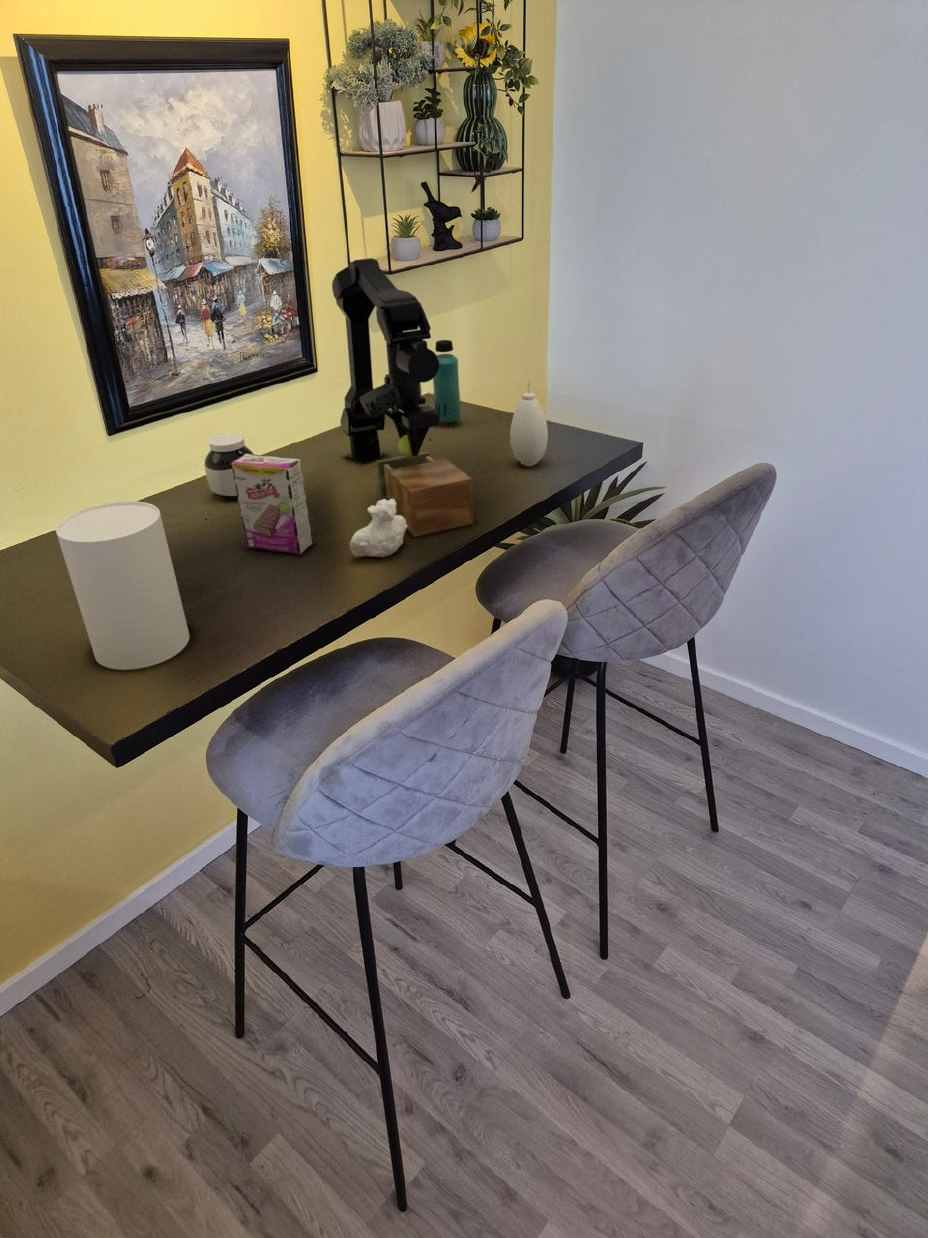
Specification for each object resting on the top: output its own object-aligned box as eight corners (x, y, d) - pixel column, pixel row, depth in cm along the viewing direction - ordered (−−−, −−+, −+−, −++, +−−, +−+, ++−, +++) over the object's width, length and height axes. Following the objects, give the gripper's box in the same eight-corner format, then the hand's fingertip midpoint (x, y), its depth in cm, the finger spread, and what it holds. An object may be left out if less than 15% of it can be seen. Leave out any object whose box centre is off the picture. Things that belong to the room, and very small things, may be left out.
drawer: (378, 493, 173) (374, 458, 170) (427, 483, 177) (425, 449, 173) (399, 514, 164) (396, 478, 160) (450, 503, 167) (449, 467, 164)
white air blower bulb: (553, 461, 187) (554, 378, 178) (536, 473, 181) (536, 388, 172) (522, 456, 191) (521, 374, 181) (504, 467, 185) (502, 383, 176)
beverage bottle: (462, 419, 215) (459, 337, 205) (460, 428, 209) (456, 343, 199) (436, 419, 216) (432, 337, 205) (433, 428, 210) (428, 344, 200)
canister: (131, 616, 136) (98, 498, 126) (206, 626, 132) (179, 505, 122) (74, 663, 125) (33, 537, 115) (155, 675, 121) (120, 546, 111)
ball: (394, 457, 166) (392, 435, 164) (411, 451, 169) (409, 429, 166) (409, 462, 163) (408, 440, 161) (426, 456, 166) (425, 434, 164)
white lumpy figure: (358, 576, 149) (378, 540, 140) (333, 542, 151) (352, 504, 142) (409, 552, 156) (432, 517, 147) (386, 520, 158) (407, 483, 149)
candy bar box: (245, 549, 155) (229, 462, 147) (260, 537, 159) (244, 452, 151) (301, 556, 152) (287, 467, 144) (314, 544, 156) (301, 457, 148)
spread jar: (223, 506, 173) (212, 450, 167) (197, 491, 181) (186, 437, 175) (275, 489, 180) (266, 435, 174) (248, 475, 187) (239, 423, 181)
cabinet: (391, 514, 166) (387, 470, 162) (448, 501, 170) (446, 458, 166) (414, 537, 157) (410, 491, 152) (473, 523, 161) (472, 478, 156)
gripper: (346, 365, 162) (355, 445, 170) (379, 388, 147) (387, 475, 155) (401, 356, 166) (407, 435, 174) (439, 378, 151) (444, 463, 159)
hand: (410, 451), depth 165 cm, fingers closed on ball, 4 cm apart
